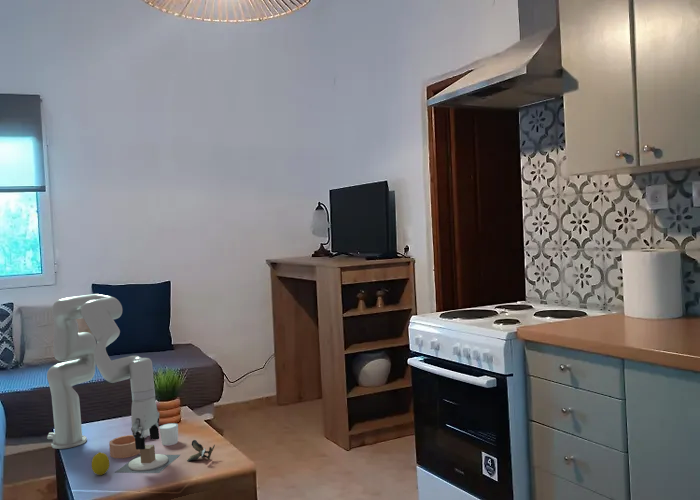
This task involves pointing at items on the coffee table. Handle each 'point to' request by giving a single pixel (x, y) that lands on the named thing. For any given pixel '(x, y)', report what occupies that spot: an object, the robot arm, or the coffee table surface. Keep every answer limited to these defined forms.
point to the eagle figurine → (200, 451)
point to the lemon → (100, 463)
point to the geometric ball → (145, 433)
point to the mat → (157, 470)
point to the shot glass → (169, 434)
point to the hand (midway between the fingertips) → (147, 444)
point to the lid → (148, 459)
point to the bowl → (123, 447)
